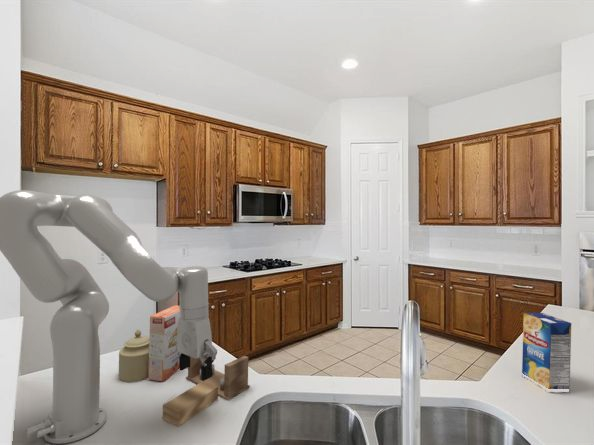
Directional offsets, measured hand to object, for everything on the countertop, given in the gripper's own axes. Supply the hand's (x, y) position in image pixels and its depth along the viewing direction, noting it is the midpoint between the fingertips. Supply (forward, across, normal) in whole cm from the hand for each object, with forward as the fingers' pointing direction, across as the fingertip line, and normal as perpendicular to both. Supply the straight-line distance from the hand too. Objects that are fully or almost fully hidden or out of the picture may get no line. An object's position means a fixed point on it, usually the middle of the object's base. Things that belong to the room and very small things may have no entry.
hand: (195, 373), depth 86 cm
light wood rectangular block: (+10, -1, -1) cm, 10 cm away
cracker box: (+10, -25, +7) cm, 27 cm away
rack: (+10, -6, +12) cm, 17 cm away
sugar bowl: (+9, -33, +1) cm, 34 cm away
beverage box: (+14, +79, +78) cm, 112 cm away
